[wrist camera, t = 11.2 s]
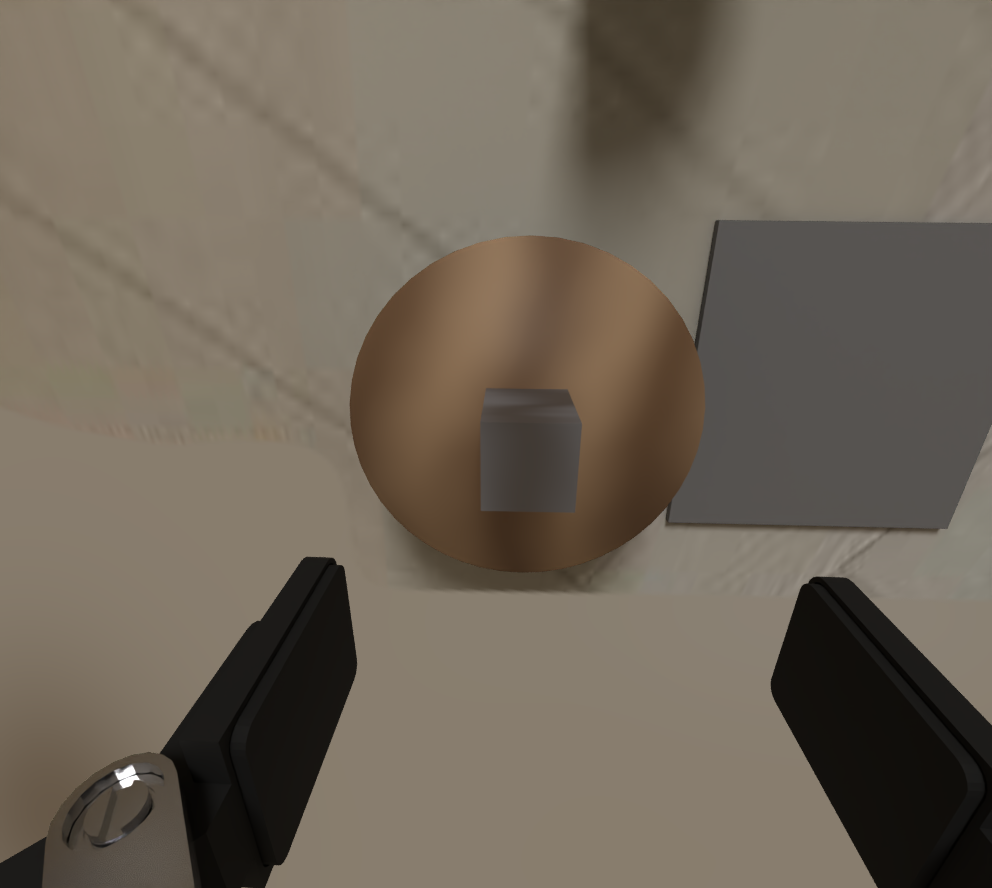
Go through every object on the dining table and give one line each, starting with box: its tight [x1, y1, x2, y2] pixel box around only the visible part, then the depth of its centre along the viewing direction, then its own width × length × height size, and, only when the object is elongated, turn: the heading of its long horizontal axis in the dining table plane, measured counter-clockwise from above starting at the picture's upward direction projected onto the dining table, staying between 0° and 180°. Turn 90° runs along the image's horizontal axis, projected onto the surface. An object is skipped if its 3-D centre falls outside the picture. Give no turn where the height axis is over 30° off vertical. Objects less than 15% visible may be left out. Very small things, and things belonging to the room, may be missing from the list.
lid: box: [350, 236, 705, 572], centre depth 20 cm, size 16×16×6 cm
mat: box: [666, 220, 992, 529], centre depth 28 cm, size 18×18×1 cm
